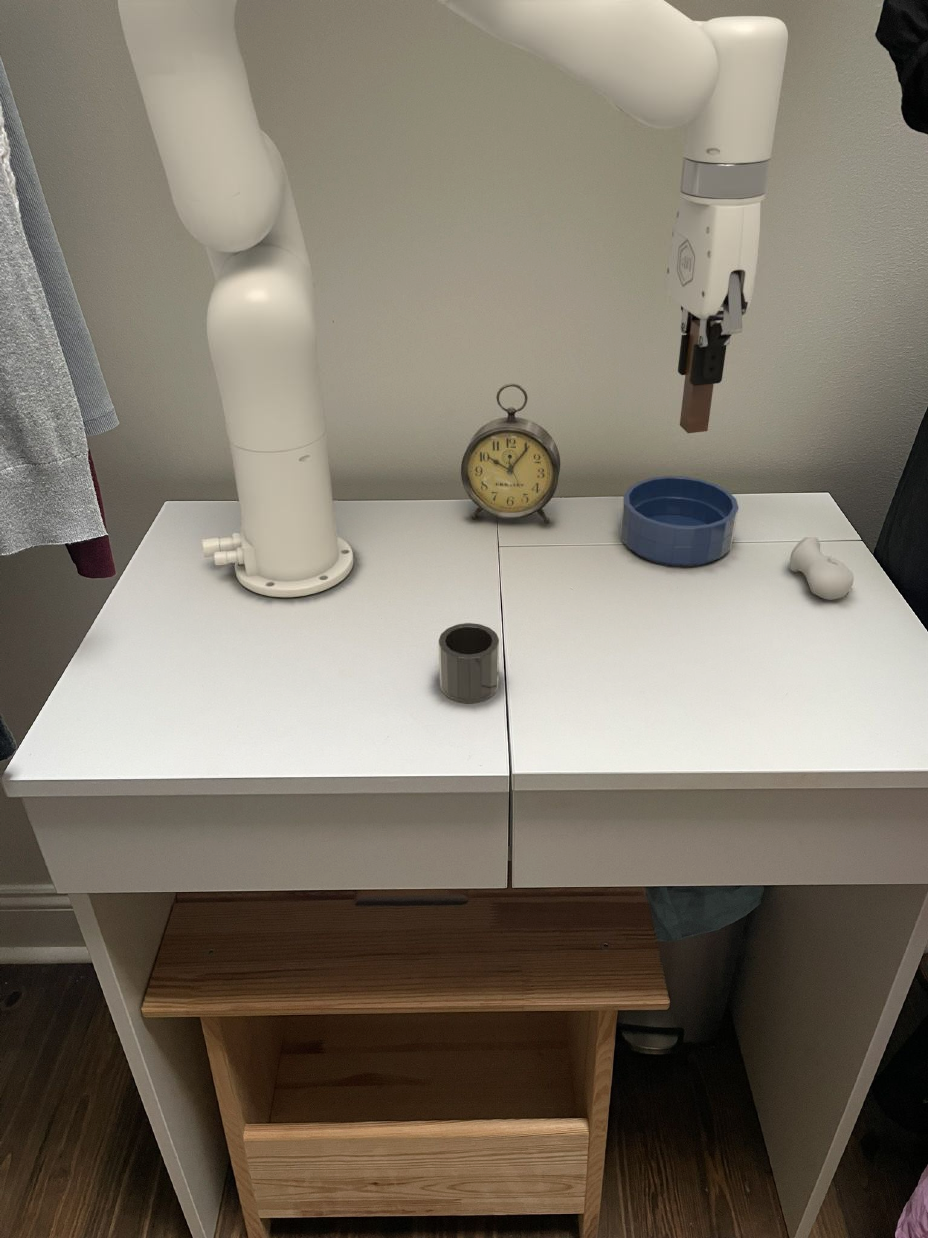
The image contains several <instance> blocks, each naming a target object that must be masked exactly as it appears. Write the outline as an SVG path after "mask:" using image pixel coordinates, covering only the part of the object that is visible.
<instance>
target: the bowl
mask: <svg viewBox="0 0 928 1238" xmlns="http://www.w3.org/2000/svg"><path fill="white" fill-rule="evenodd" d="M621 507H622V508H621V509H622V510H621V517H620V518H621V519H620V529H619V531H620V539H621V540H622V541H623V543H624V545H625V546H626V547H627V548H629V549H630V550H631V551H632V552H633V553H635V554H636V555H638V556H639V557H641V558H642V559H645V560H647V561H650V562H653V563H656V564H659V565H665V566H672V567H697V566H701V565H705V564H709V563H711V562H713V561H716V560H718V559H720V558H722V557H723V556H724V555H726V554H727V553H728V552H729V551H730V550H731V547H732V545H733V542H734V537H735V531H736V525H737V521H738V514H739V505H738V501H737V498H736V497H735V496H734V495H733V494H732V493H731V492H730V491H729V490H727V489H725V488H723V487H722V486H720V485H718V484H716V483H714V482H710V481H708V480H704V479H700V478H695V477H689V476H684V475H683V476H681V475H678V476H677V475H664V476H663V475H662V476H654V477H650V478H646V479H643V480H642V479H641V480H639V481H636V482H635V483H633V484H632V485H631V486H629V487H628V488H627V489H626V491H625V492H624V494H623V496H622V506H621Z"/></svg>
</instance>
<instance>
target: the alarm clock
mask: <svg viewBox="0 0 928 1238" xmlns="http://www.w3.org/2000/svg"><path fill="white" fill-rule="evenodd" d="M510 387H512V388H513V387H514V388H516V389H518V390H520V391H521V392H522V394H523V396H524V401H523V403H522V406H521V407H519V408H517V409H515V408H514V407H513V406H511V407H510V406H509V407H508V408H505V407H504V405H502V403H501V401H500V395H501V393H502V391H504V390H505V389H506V388H507V389H508V388H510ZM495 398H496V402H497V405H498V407H500V408H501V410H502V411H504V412H506V413H507V416H504V417H500V418H496V419H493V420H491V421H488V422H487V423H486V424H484V425H482V427H480V428H479V429H478V430H477V431H476V432H475V433H474V435H472V437H471V439H470V441H469V443H468V445H467V447H466V450H465V452H464V454H463V456H462V458H461V459H462V460H461V465H460V466H461V467H460V476H461V477H460V478H461V481H462V485H463V488H464V490H465V492H466V495H467V496H468V498H469V499H470V500H471V501H472V502H473V503H474V505H476V506H477V508H476V510H475V511H474V513H473V514H471V519H473V520H476V519H478V516H479V515H480V514H481V513H482V512H485V513H487V514H489V515H491V516H494V517H497V518H501V519H509V520H512V519H513V520H515V519H516V520H517V519H522V518H526V517H529V516H532V515H535V514H538V515H539V517H540V518H542V520H543V521H544V523H545V524H549V523H550V518H549V517H547V515H546V512H545V511H544V509H543V508H544V507H545V506H547V504H548V503H549V502H551V499H552V498H554V495H555V493H556V490H557V487H558V484H559V477H560V471H561V457H560V451H559V449H558V446H557V443H556V442H555V440H554V439H553V437H552V436H551V434H550V433H549V432H548V431H547V430H546V429H545V428H543V427H542V426H541V425H540V424H538V423H536V422H534V421H532V420H531V419H527V418H523V417H518V416H516V413H519V412H520V411H522V410H524V409H525V407H526V406H527V403H528V399H529V398H528V394H527V391H526V389H524V387H523V386H521V385H520V384H518V383H506V384H504V385H502V386H501V387H500V388H499V389H498V390H497V392H496V397H495Z"/></svg>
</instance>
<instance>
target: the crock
mask: <svg viewBox="0 0 928 1238" xmlns="http://www.w3.org/2000/svg"><path fill="white" fill-rule="evenodd" d="M499 638H500V637H499V636H498V634H497V633H496V632H495V631H494V630H493V629H492V628H490V627H488V626H486V625H484V624H480V623H473V622H464V623H457V624H455V625H452V626H450V627H448V628H446V629H445V630H443V631H442V632H441V634H440V635H439V638H438V665H439V666H438V667H439V686H440V690H441V692H442V694H443V695H444V696H445V697H447V698H448V699H450V700H451V701H454V702H457V703H461V704H476V703H481V702H484V701H487V700H489V699H490V698H492V697H493V696H494V695H495V694H496V692H497V691H498V689H499V680H500V679H499V678H500V677H499V675H500V639H499Z"/></svg>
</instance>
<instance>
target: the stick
mask: <svg viewBox="0 0 928 1238" xmlns="http://www.w3.org/2000/svg"><path fill="white" fill-rule="evenodd" d="M714 323H719V322H718V321H711V324H710V328H711V327H712V325H713V324H714ZM699 329H700V320H692V321H691V329H690V338H689V347H688V356H687V364H686V373H685V375H684V382H683V392H682V400H681V409H680V418H679V427H681V428H682V429H683V430H684V432H686V433H687V434H696V433H703V432H708V430H709V422H710V415H711V408H712V400H713V393H714V385H715V384H707V385H697V386H693V385H692V384H691V383H690V373H691V365H692V356H693V348H694V345H696V344H698V338H699Z"/></svg>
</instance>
